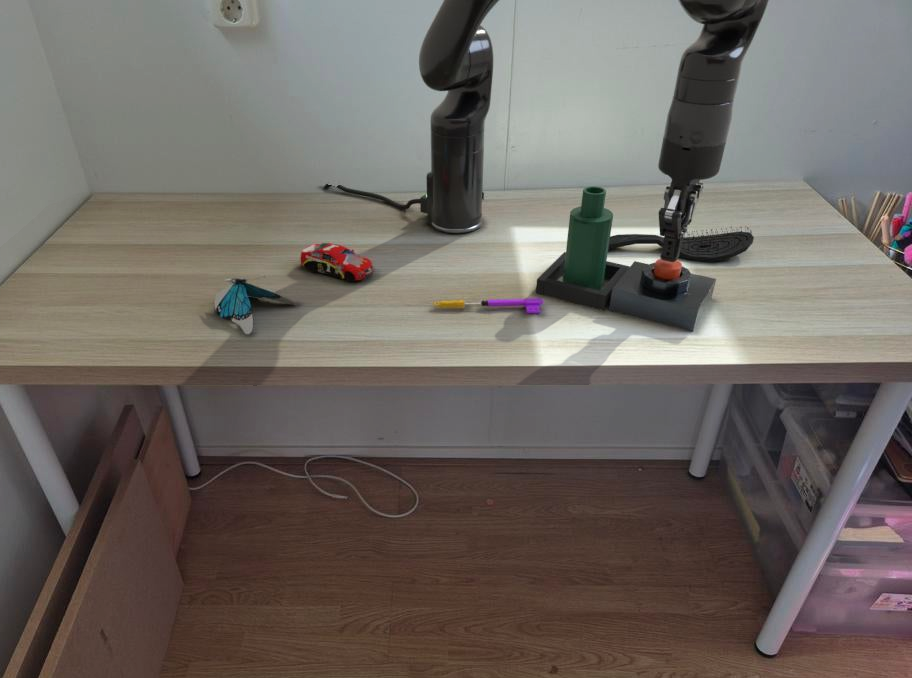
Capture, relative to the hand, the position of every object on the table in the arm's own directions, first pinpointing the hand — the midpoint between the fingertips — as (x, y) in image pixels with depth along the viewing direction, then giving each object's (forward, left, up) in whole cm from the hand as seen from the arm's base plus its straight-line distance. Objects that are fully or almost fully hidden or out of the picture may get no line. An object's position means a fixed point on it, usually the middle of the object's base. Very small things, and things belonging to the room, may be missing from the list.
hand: (669, 259), depth 99 cm
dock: (-12, 0, -8) cm, 14 cm away
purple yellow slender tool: (-15, -9, -7) cm, 18 cm away
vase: (-12, 0, -8) cm, 14 cm away
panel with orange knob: (0, 0, -8) cm, 8 cm away
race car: (-49, -14, -8) cm, 51 cm away
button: (0, 0, -2) cm, 2 cm away
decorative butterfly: (-53, -31, -8) cm, 62 cm away
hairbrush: (-4, +19, -8) cm, 21 cm away
